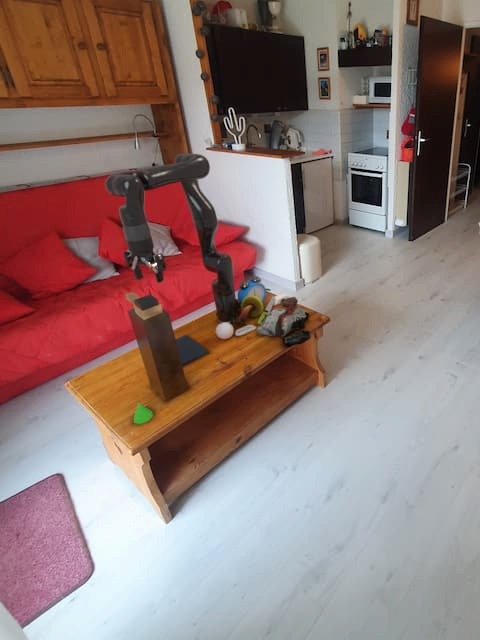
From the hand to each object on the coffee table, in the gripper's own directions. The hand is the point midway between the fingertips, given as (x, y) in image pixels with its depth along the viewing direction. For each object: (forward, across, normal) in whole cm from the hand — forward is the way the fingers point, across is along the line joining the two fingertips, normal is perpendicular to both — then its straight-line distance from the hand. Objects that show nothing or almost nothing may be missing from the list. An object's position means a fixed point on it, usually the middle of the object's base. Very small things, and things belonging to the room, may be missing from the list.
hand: (150, 280), depth 133 cm
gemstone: (+37, -9, +25) cm, 46 cm away
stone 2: (+38, -26, -57) cm, 73 cm away
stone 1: (+35, -30, -38) cm, 60 cm away
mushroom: (+29, -13, -29) cm, 43 cm away
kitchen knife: (+36, -19, -46) cm, 61 cm away
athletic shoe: (+27, -31, -35) cm, 54 cm away
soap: (+35, -15, -29) cm, 48 cm away
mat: (+37, +2, -9) cm, 38 cm away
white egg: (+32, -13, -19) cm, 40 cm away
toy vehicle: (+36, -20, -57) cm, 70 cm away
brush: (+5, -3, +9) cm, 11 cm away
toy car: (+33, -40, -27) cm, 59 cm away
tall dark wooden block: (+37, -8, +11) cm, 40 cm away
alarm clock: (+37, -7, -49) cm, 62 cm away
